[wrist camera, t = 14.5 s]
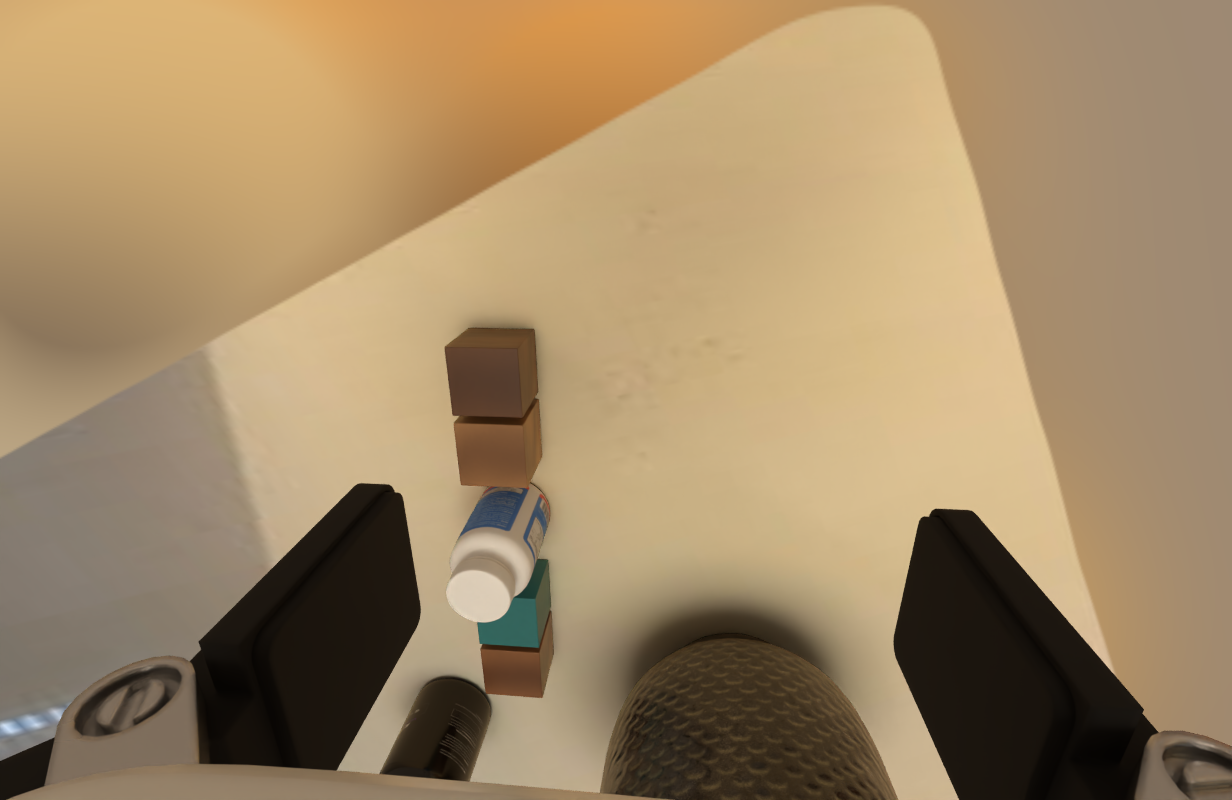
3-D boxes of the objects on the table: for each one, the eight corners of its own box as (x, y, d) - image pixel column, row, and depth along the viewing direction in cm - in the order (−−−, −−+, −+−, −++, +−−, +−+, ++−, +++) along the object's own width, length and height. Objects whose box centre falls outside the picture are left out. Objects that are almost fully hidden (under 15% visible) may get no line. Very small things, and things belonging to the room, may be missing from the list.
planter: (833, 565, 43) (941, 837, 26) (869, 751, 50) (975, 1071, 32) (582, 607, 47) (526, 870, 30) (646, 776, 54) (632, 1074, 36)
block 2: (475, 397, 41) (453, 423, 37) (538, 398, 41) (523, 425, 37) (481, 454, 43) (460, 485, 39) (542, 456, 42) (527, 488, 38)
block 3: (492, 556, 46) (473, 595, 42) (548, 559, 46) (535, 599, 42) (496, 602, 48) (479, 644, 44) (551, 605, 47) (539, 648, 43)
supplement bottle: (410, 675, 52) (337, 815, 41) (484, 674, 51) (430, 816, 40) (428, 732, 54) (365, 877, 43) (499, 731, 53) (453, 880, 42)
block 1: (468, 327, 39) (444, 346, 35) (534, 328, 39) (517, 348, 35) (475, 390, 41) (452, 415, 37) (538, 392, 40) (522, 418, 36)
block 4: (497, 607, 48) (480, 649, 44) (551, 610, 48) (539, 653, 43) (501, 649, 50) (485, 693, 45) (553, 653, 49) (542, 698, 45)
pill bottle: (468, 511, 45) (415, 598, 36) (506, 463, 43) (460, 542, 34) (526, 550, 46) (489, 645, 37) (566, 505, 44) (538, 594, 35)
